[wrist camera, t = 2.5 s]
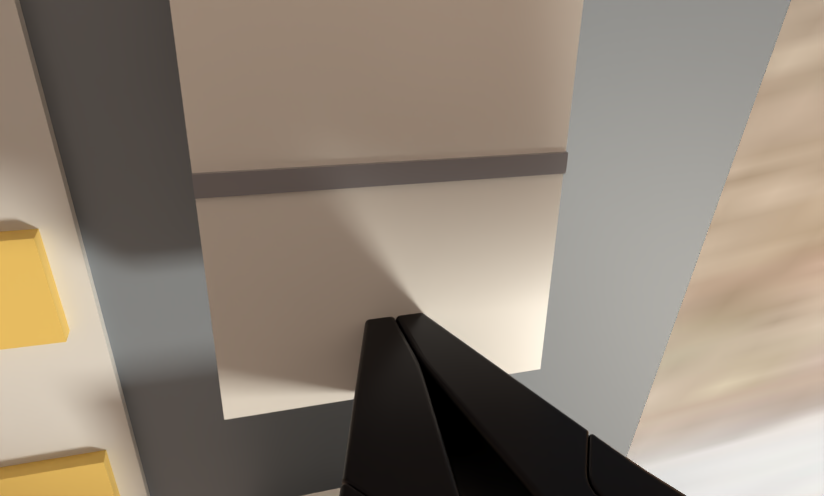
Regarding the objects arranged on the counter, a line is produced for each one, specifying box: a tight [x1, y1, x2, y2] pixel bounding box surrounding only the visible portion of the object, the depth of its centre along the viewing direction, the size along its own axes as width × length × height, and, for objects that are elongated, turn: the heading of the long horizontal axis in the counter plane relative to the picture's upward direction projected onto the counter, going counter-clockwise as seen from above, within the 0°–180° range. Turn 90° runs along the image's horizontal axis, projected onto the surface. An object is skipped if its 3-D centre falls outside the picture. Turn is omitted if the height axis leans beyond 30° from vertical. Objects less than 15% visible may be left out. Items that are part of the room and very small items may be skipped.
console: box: [0, 0, 791, 496], centre depth 13 cm, size 22×16×5 cm
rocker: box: [169, 0, 584, 420], centre depth 8 cm, size 7×5×1 cm
